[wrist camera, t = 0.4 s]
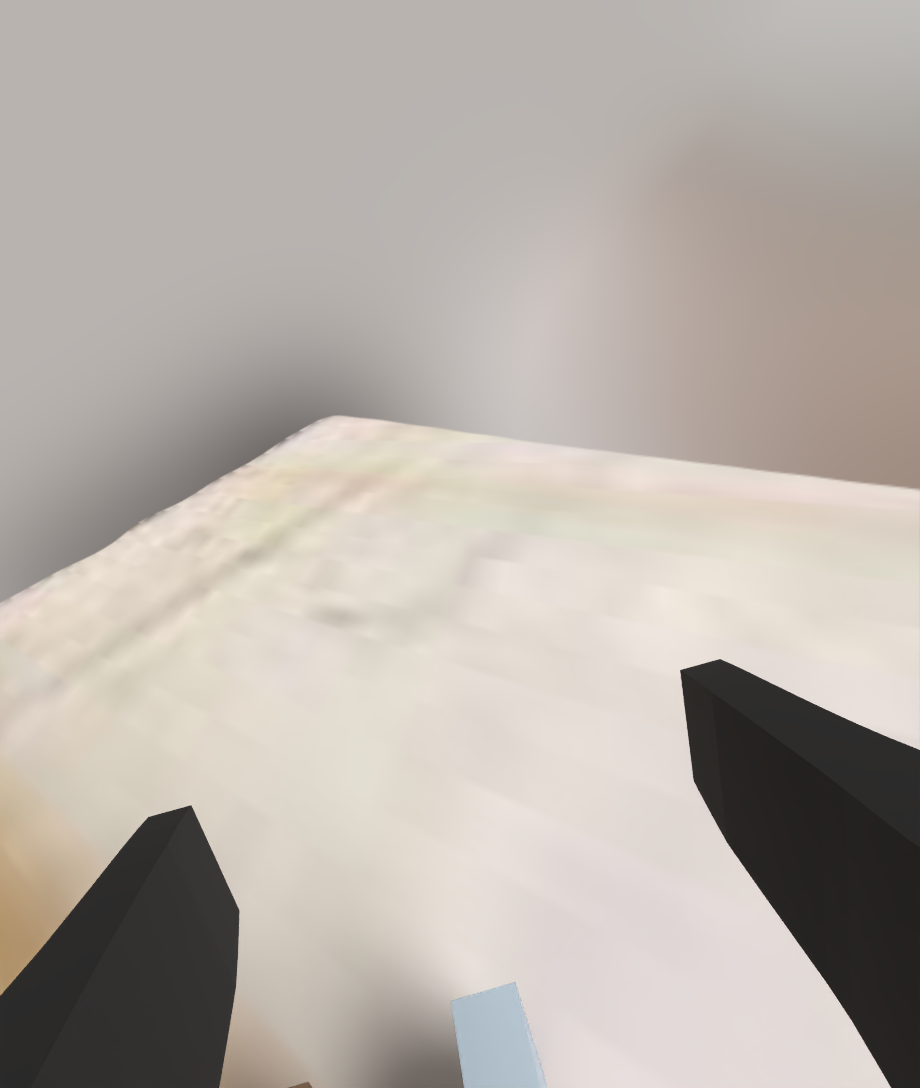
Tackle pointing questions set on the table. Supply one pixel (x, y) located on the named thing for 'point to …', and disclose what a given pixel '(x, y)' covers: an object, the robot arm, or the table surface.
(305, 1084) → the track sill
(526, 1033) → the door panel
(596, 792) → the table surface
